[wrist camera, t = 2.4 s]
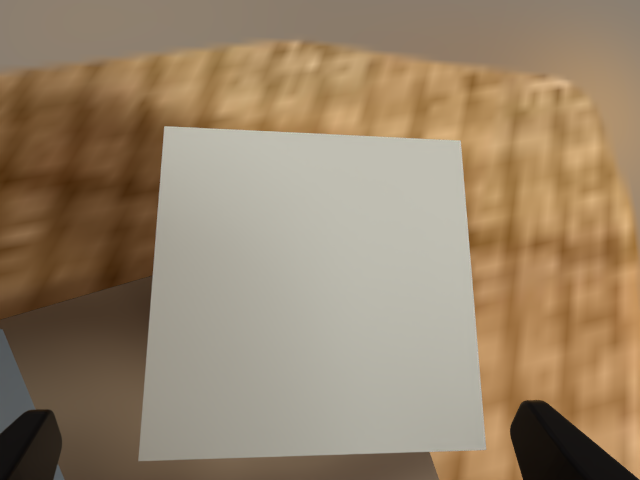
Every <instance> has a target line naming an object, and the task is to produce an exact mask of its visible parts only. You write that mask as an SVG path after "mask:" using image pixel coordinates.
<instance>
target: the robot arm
mask: <svg viewBox="0 0 640 480" xmlns="http://www.w3.org/2000/svg"><path fill="white" fill-rule="evenodd" d="M510 435H511V440H512V443H513V447H514V450H515V453H516V457H517V460H518V464H519V467H520V471H521V474H522V477H523V480H639V479H638V478H637V477H636V476H634V475H633V474H632V473H631V472H630V471H628V470H627V469H626V468H625V467H623V466H622V465H621V464H620V463H619V462H617V461H616V460H615V459H614V458H613V457H611V456H610V455H609V454H608V453H607V452H605V451H604V450H603V449H602V448H601V447H599V446H598V445H597V444H596V443H595V442H593V441H592V440H591V439H590V438H589V437H587V436H586V435H585V434H584V433H583V432H581V431H580V430H579V429H578V428H577V427H575V426H574V425H573V424H572V423H571V422H569V421H568V420H567V419H566V418H565V417H563V416H562V415H561V414H560V413H558V412H557V411H556V410H555V409H554V408H552V407H551V406H550V405H549V404H548V403H546V402H544V401H541V400H527V401H523V402H522V403H521V404H520V406H519V409H518V411H517V413H516V415H515V417H514V420H513V422H512V424H511V428H510ZM61 449H62V436H61V433H60V430H59V426H58V423H57V420H56V417H55V414H54V412H53V411H51V410H49V409H37V410H28V411H26V412H24V413H23V414H21V415H20V416H19V417H18V418H17V419H16V420H15V421H14V422H12V423H11V424H10V425H9V426H8V427H7V428H6V429H5V430H4V431H2V432H1V433H0V480H53V479H54V476H55V472H56V468H57V465H58V461H59V457H60V453H61Z"/></svg>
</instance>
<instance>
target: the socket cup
mask: <svg viewBox="0 0 640 480" xmlns="http://www.w3.org/2000/svg"><path fill="white" fill-rule="evenodd" d="M28 410H36V409H35V407H34V404H33V402H32V400H31V397H30V395H29V392H28V390H27V387H26V385H25V383H24V380H23V378H22V375H21V373H20V370H19V368H18V366H17V363H16V361H15V358H14V356H13V353H12V351H11V348H10V346H9V344H8V341H7V339H6V336H5V334H4V331H3V329H0V433H1V432H2V431H4V430H5V429H6V428H7V427H8V426H9V425H10V424H11V423H12V422H14V421H15V420H16V419H17V418H18V417H19V416H20V415H21V414H23V413H24V412H26V411H28ZM53 480H64V477H63V475H62V472H61V470H60V468H59V465H57V468H56V472H55V476H54V479H53Z"/></svg>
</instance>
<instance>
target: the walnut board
mask: <svg viewBox="0 0 640 480" xmlns="http://www.w3.org/2000/svg"><path fill="white" fill-rule="evenodd" d="M152 279H153V276H149V277H146V278H142V279H139V280H135V281H132V282H129V283H125V284H122V285H118V286H115V287H111V288H108V289H105V290H101V291H98V292H94V293H91V294H87V295H84V296H81V297H77V298H74V299H70V300H67V301H63V302H60V303H57V304H53V305H50V306H46V307H43V308H39V309H36V310H32V311H29V312H26V313H22V314H19V315H15V316H12V317H8V318H5V319H2V320H0V329H3V331H4V334H5V336H6V339H7V341H8V344H9V346H10V348H11V351H12V353H13V356H14V358H15V361H16V363H17V366H18V368H19V370H20V373H21V375H22V378H23V380H24V383H25V385H26V387H27V390H28V392H29V395H30V397H31V400H32V402H33V404H34V407H35V409H36V410H37V409H49V410H51V411H53V412H54V414H55V417H56V420H57V423H58V426H59V430H60V433H61V436H62V449H61V453H60V457H59V461H58V465H59V468H60V470H61V472H62V475H63V477H64V480H439V478H438V475H437V473H436V470H435V467H434V464H433V461H432V458H431V455H430V453H429V452H406V453H375V454H344V455H313V456H282V457H251V458H220V459H189V460H159V461H138V459H139V446H140V433H141V420H142V408H143V395H144V382H145V369H146V356H147V343H148V330H149V317H150V305H151V292H152Z"/></svg>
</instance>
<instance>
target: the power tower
mask: <svg viewBox="0 0 640 480" xmlns="http://www.w3.org/2000/svg"><path fill="white" fill-rule="evenodd" d="M467 450H486V442H485V430H484V418H483V406H482V394H481V382H480V370H479V358H478V345H477V333H476V321H475V309H474V297H473V285H472V273H471V261H470V249H469V237H468V224H467V212H466V200H465V188H464V176H463V164H462V152H461V141H455V140H435V139H414V138H394V137H373V136H353V135H332V134H312V133H291V132H271V131H250V130H230V129H209V128H189V127H168V126H164V137H163V150H162V163H161V176H160V189H159V202H158V215H157V227H156V240H155V253H154V266H153V279H152V292H151V305H150V317H149V330H148V343H147V356H146V369H145V382H144V395H143V408H142V420H141V433H140V446H139V459H138V461H159V460H189V459H220V458H251V457H282V456H313V455H344V454H375V453H406V452H437V451H467Z"/></svg>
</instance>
